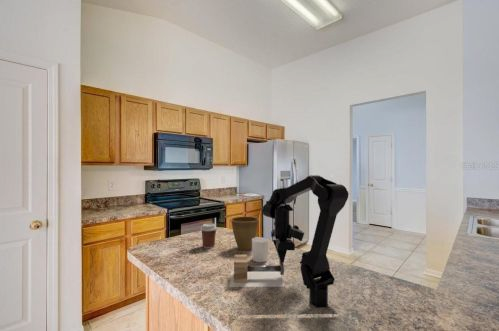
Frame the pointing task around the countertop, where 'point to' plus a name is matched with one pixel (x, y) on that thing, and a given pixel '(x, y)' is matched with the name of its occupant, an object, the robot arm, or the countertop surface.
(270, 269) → the hook rod
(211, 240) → the coffee cup
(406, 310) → the countertop surface
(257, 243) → the white cup
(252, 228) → the plant pot
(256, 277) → the mounting board
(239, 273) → the block
